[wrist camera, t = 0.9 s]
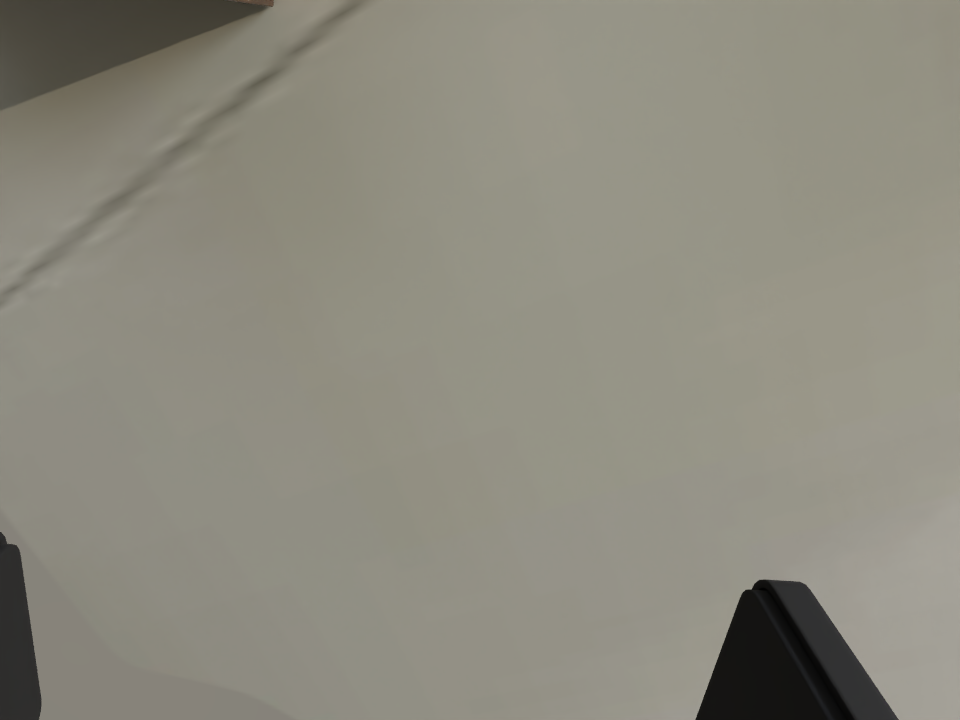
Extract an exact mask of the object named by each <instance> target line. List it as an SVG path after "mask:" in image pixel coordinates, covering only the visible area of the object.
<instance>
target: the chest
mask: <svg viewBox="0 0 960 720" xmlns="http://www.w3.org/2000/svg"><path fill="white" fill-rule="evenodd" d="M226 1H234V2H241V3H248V4H255V5H262V6H270V7H273V5H274V0H226Z"/></svg>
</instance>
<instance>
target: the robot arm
mask: <svg viewBox="0 0 960 720" xmlns="http://www.w3.org/2000/svg"><path fill="white" fill-rule="evenodd" d="M40 712H41V694H40V687H39V680H38V673H37V666H36V659H35V653H34V646H33V638H32V631H31V624H30V617H29V610H28V604H27V597H26V590H25V583H24V577H23V569H22V562H21V555H20V551H19V549H18V547H17V546H16V545H13V544H7V542H6V539H5V536H4V535H3V534H2V533H1V532H0V720H39V716H40ZM696 720H898V718H897V717H896V715H895V714H894V712H893V711H892V709H891V708H890V706H889V705H888V703H887V702H886V700H885V699H884V698H883V696H882V695H881V693H880V692H879V690H878V689H877V687H876V686H875V684H874V683H873V681H872V680H871V678H870V677H869V676H868V674H867V673H866V671H865V670H864V668H863V667H862V665H861V664H860V662H859V661H858V659H857V658H856V656H855V655H854V653H853V652H852V651H851V649H850V648H849V646H848V645H847V643H846V642H845V640H844V639H843V637H842V636H841V634H840V633H839V631H838V630H837V628H836V627H835V626H834V624H833V623H832V621H831V620H830V618H829V617H828V615H827V614H826V612H825V611H824V609H823V608H822V606H821V605H820V603H819V602H818V601H817V599H816V598H815V596H814V595H813V593H812V592H811V590H810V589H809V588H808V587H807V586H806V585H805V584H803V583H801V582H794V581H778V580H759V581H757V582H756V583H755V584H754V586H753V588H752V590H745V591H744V592H743V593H742V595H741V597H740V600H739V602H738V605H737V608H736V610H735V613H734V616H733V619H732V621H731V624H730V627H729V630H728V632H727V635H726V638H725V641H724V643H723V646H722V649H721V652H720V654H719V657H718V660H717V662H716V665H715V668H714V671H713V673H712V676H711V679H710V682H709V684H708V687H707V690H706V693H705V695H704V698H703V701H702V703H701V706H700V709H699V712H698V714H697V717H696Z"/></svg>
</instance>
